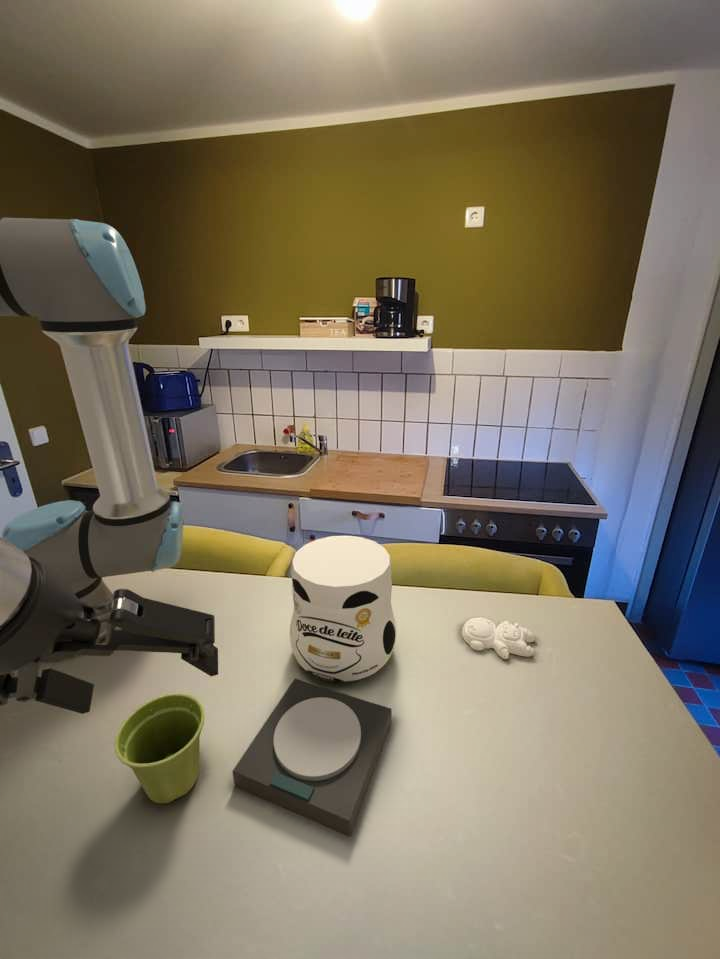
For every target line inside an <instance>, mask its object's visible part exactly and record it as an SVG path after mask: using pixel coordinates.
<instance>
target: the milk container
mask: <svg viewBox="0 0 720 959" xmlns="http://www.w3.org/2000/svg"><path fill="white" fill-rule="evenodd" d="M290 576H291V581H292V584H291V590H292V591H291V592H292V598H293V599H292V600H293V611H292V615H291V620H290V624H289V640H290V643H291V644H290V645H291V649H292V652H293V654H294V658H295V659H296V661H297V663H298V664H299V665H300V667H302V669H303V670H304V671H305V672H307V673H308V674H309V675H311V676H313V677H315V678H317V679H319V680H322V681H326V682H332V683H336V684H337V683H339V684H340V683H352V682H353V683H354V682H358V681H361V680H364V679H366V678H369V677H372V676H373V675H375V674H376V673H377V672H378V671H380V670H382V669H383V667H384V666H385V665H386V664H387V662H388V661H389V659H390V658H391V657H392V654H393V651H394V648H395V643H396V637H397V621H396V618H395V614H394V611H393V608H392V592H393V583H392V582H393V581H392V560H391V555H390V554H389V552H388V551H387V549H386V547H384V546H383V545H381V544H379V543H378V542H377V541H374V540H371V539H368V538H366V537H364V536H363V537H362V536H355V535H331V536H326V537H322V538H317V539H314V540H313V541H310V542H308V543H306V544H304V545H303V546H301V548H299V549H298V550H297V551H296V552H295V554H294V556H293V558H292V560H291V570H290Z"/></svg>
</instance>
